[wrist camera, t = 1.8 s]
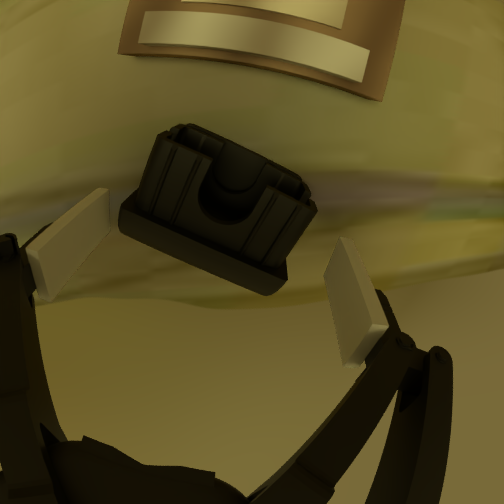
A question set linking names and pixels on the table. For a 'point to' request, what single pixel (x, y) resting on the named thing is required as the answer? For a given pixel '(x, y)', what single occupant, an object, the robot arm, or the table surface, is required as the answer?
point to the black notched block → (219, 208)
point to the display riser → (275, 37)
